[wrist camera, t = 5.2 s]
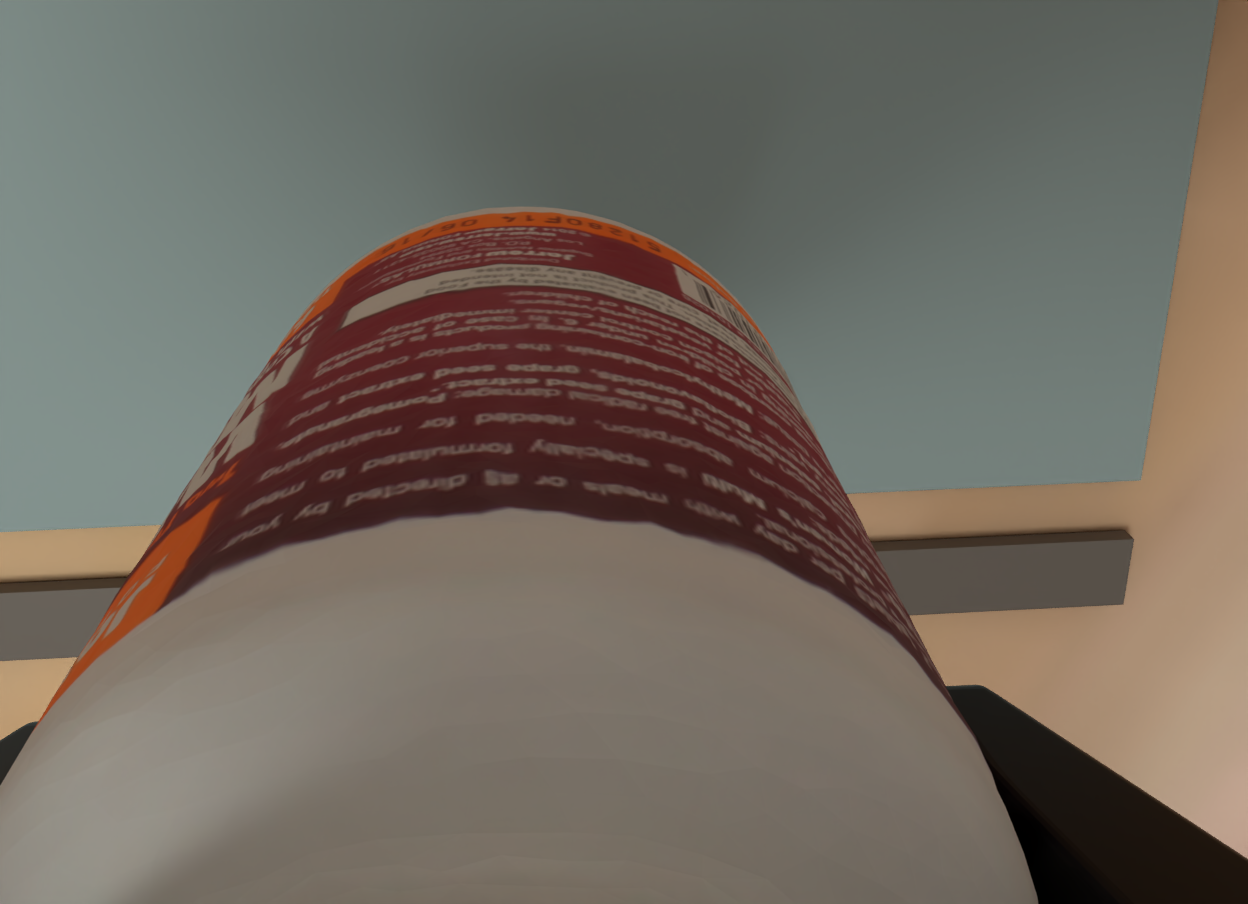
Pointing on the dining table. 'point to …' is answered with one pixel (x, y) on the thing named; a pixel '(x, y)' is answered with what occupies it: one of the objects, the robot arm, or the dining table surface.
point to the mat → (601, 207)
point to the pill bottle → (510, 622)
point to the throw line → (917, 569)
